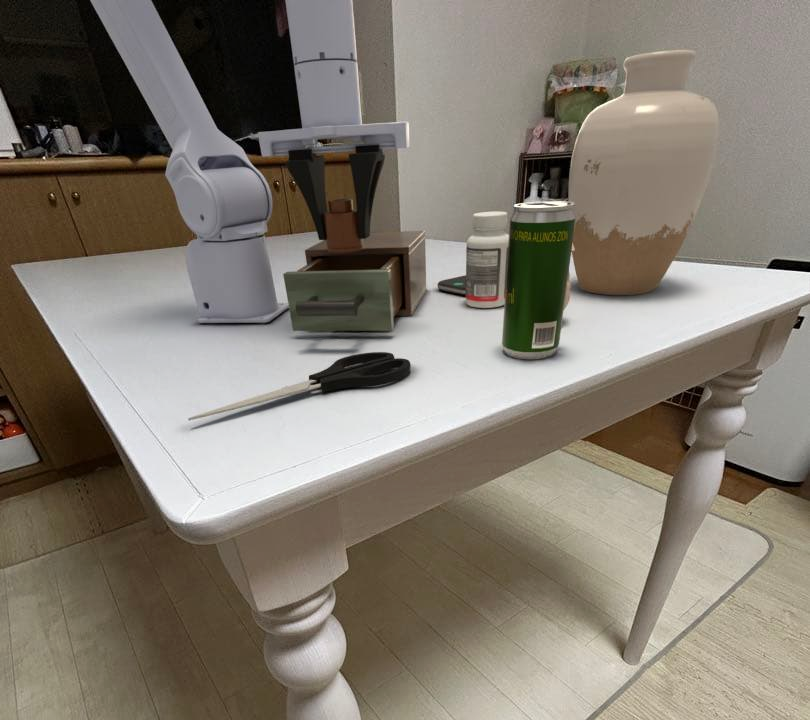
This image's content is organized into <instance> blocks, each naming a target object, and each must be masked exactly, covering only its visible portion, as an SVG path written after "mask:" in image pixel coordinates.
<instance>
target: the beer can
mask: <svg viewBox="0 0 810 720" xmlns="http://www.w3.org/2000/svg"><path fill="white" fill-rule="evenodd" d="M574 205H575V203H573V202H569V201H562V200H559V201H557V200H555V201H552V200H551V201H550V200H549V201H534V202H533V201H529V202H522V203H516V204H514V205H513V210H514V211H513V213H512V215H511V216H510V219H509V231H508V235H509V244H508V259H507V274H506V290H505V304H504V305H503V322H502V323H503V324H502V337H501V338H502V339H501V345H502V347H503V350H504V353H505V354H506V355H507V356H509V357H511V358H514V359H520V360H540V359H541V360H542V359H547V358H550V357H552V356H553V355H554V354H555V353H556V351H557V349H558V347H559V345H560V339H561V333H562V332H561V331H562V326H563V325H562V324H563V317H564V311H565V309H564V303H565V295H566V288H567V280H568V273H570V265H571V256H572V252H571V250H572V242H573V235H574V227H575V220H576V216H575V213H574V210H573V208H574ZM563 310H564V311H563Z"/></svg>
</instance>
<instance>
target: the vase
mask: <svg viewBox="0 0 810 720" xmlns="http://www.w3.org/2000/svg"><path fill="white" fill-rule="evenodd" d="M696 57H697V53H696V51H695V50H692V49H671V50H660V51H652V52H651V51H650V52H645V53H639V54H635V55H631V56H628V57H626V58H625V60H624V61H623V69H624V71H625V83H624V90H623V93H622V94H621V95H620V96H618V97H615V98H613V99H611V100H609V101H607V102H605V103H603V104H601V105H598V106H596V107H595V108H594V109H593V110H591V112H589V113H588V115H587V116H586V117H585V119H584V121H583V122H582V124H581V126H580V129H579V132H578V134H577V136H576V139H575V143H574V146H573V151H572V154H571V160H570V168H569V175H568V176H569V177H568V195H567V196H568V202H573V203H575V205H574V208H573V210H574V213H575V216H576V220H575V227H574V235H573V245H574V249H575V251H572V252H571V256H572V261H573V265H574V266H573V267H574V271H575V276H576V279H577V282H578V286H579V288H580V289H581V290H582V291H585V292H588V293H592V294H597V295H607V296H633V295H642V294H647V293H651V292H653V291H655V290H656V288H657V287H658V286H659V284H660V283H661V281H662V280H663V279H664V277H665V275H666V273H667V272H668V270H669V268H670V267H671V265H672V263H673V261H674V260H675V258H676V256H677V255H678V253H679V251H680V250H681V247H682V245H683V243H684V241H685V239H686V238H687V236H688V234H689V231H690V229H691V228H692V225H693V222H694V221H695V218H696V216H697V213H698V211H699V208H700V206H701V203H702V200H703V198H704V196H705V193H706V190H707V187H708V184H709V182H710V179H711V175H712V172H713V169H714V167H715V161H716V156H717V153H718V146H719V138H720V117H719V111H718V109H717V106H716V104H715V103H714V102H713V101H712V100H711V99H710V98H708V97H705V96H703V95H700V94H699V93H695V92H691V91H688V90H686V89H685V87H686V82H687V78H688V74H689V70H690V68H691V66H692V64H693V63H694V62H695V60H696Z"/></svg>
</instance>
